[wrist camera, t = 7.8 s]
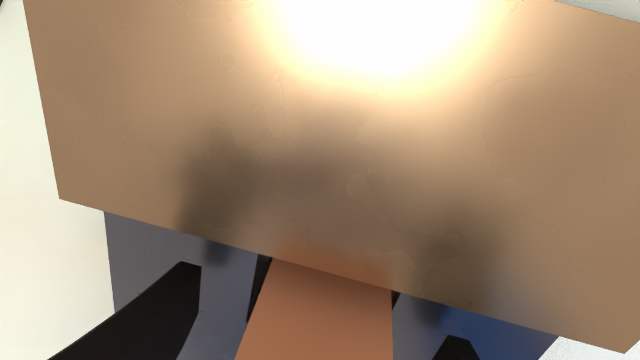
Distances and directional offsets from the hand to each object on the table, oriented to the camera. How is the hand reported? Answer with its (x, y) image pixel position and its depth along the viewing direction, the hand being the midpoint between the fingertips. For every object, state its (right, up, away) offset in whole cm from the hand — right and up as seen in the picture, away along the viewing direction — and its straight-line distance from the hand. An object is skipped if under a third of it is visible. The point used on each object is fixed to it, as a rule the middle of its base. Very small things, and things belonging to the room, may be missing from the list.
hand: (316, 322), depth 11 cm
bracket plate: (+1, +2, +3) cm, 4 cm away
